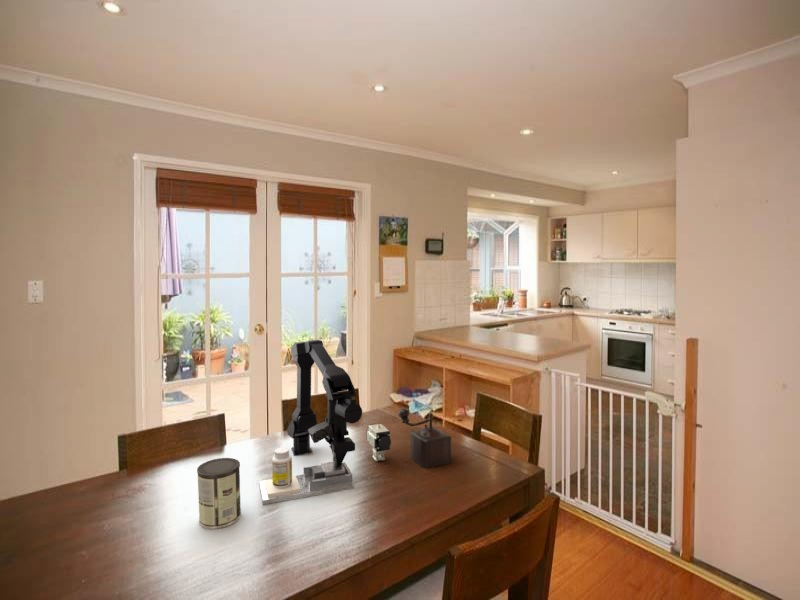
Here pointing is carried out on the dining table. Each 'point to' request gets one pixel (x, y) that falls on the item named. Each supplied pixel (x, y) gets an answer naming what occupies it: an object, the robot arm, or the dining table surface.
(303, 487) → the press base
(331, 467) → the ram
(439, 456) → the pepper mill
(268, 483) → the plate
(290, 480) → the supplement bottle
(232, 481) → the coffee can
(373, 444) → the pneumatic valve
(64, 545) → the dining table surface
